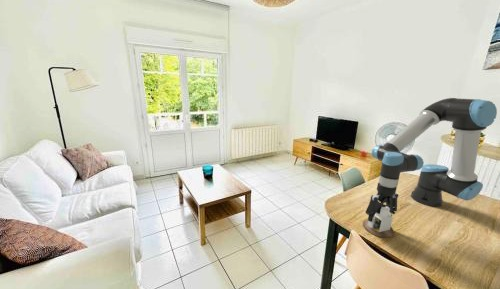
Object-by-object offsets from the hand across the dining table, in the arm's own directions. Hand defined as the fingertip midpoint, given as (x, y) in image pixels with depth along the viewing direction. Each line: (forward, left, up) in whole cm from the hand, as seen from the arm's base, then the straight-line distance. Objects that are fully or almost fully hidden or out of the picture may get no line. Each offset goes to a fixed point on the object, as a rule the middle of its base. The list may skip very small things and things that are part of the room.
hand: (378, 224), depth 104 cm
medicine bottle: (0, 0, -1) cm, 1 cm away
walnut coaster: (0, 0, -2) cm, 2 cm away
